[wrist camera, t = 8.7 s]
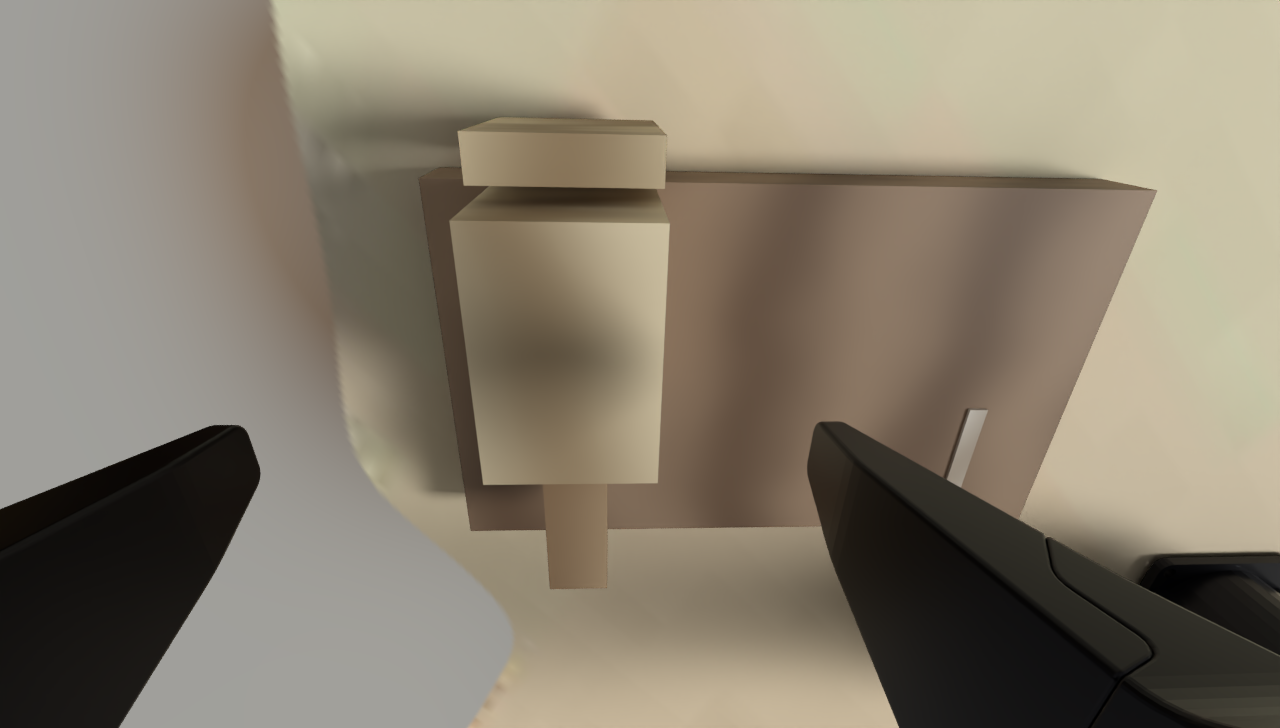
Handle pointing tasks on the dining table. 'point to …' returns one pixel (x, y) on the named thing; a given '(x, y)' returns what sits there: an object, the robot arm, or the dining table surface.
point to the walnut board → (840, 333)
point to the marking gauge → (565, 316)
